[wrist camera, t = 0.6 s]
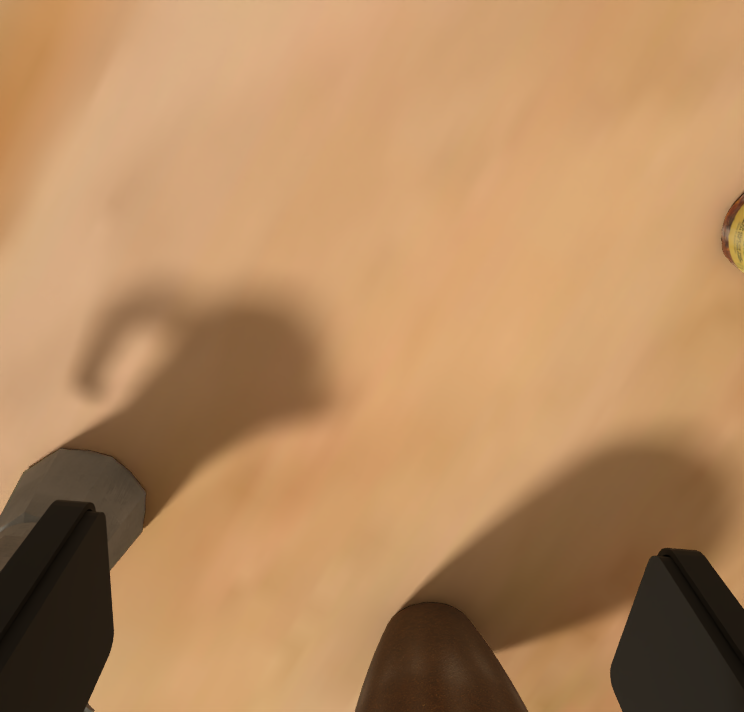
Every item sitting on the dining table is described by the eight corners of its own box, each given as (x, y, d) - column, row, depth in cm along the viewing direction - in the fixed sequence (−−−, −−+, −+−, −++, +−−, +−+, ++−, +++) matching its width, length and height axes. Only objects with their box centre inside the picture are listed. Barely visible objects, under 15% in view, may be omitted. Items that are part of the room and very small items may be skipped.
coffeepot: (197, 497, 46) (105, 726, 29) (138, 581, 49) (24, 833, 32) (-5, 391, 42) (-243, 583, 25) (-56, 488, 45) (-299, 718, 28)
